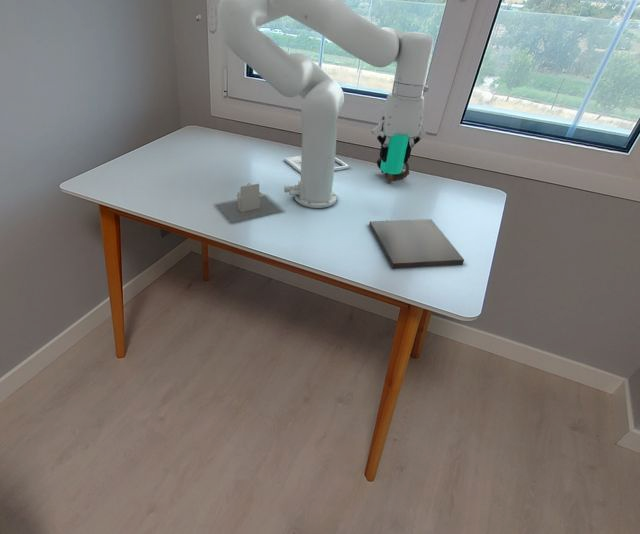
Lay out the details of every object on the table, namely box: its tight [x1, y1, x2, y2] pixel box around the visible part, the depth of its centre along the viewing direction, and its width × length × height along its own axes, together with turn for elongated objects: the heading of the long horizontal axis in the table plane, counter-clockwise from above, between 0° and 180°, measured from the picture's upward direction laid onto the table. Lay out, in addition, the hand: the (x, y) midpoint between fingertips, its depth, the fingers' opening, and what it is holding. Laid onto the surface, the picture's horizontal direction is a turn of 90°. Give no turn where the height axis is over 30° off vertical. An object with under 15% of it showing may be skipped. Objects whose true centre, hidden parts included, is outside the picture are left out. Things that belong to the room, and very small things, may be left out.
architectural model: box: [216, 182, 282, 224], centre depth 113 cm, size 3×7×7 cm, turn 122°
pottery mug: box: [376, 157, 410, 184], centre depth 138 cm, size 12×10×8 cm
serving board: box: [368, 218, 465, 270], centre depth 104 cm, size 18×20×2 cm
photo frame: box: [284, 155, 350, 174], centre depth 144 cm, size 15×1×18 cm
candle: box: [379, 135, 409, 175], centre depth 109 cm, size 6×6×12 cm
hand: (393, 159), depth 111 cm, fingers closed on candle, 5 cm apart
